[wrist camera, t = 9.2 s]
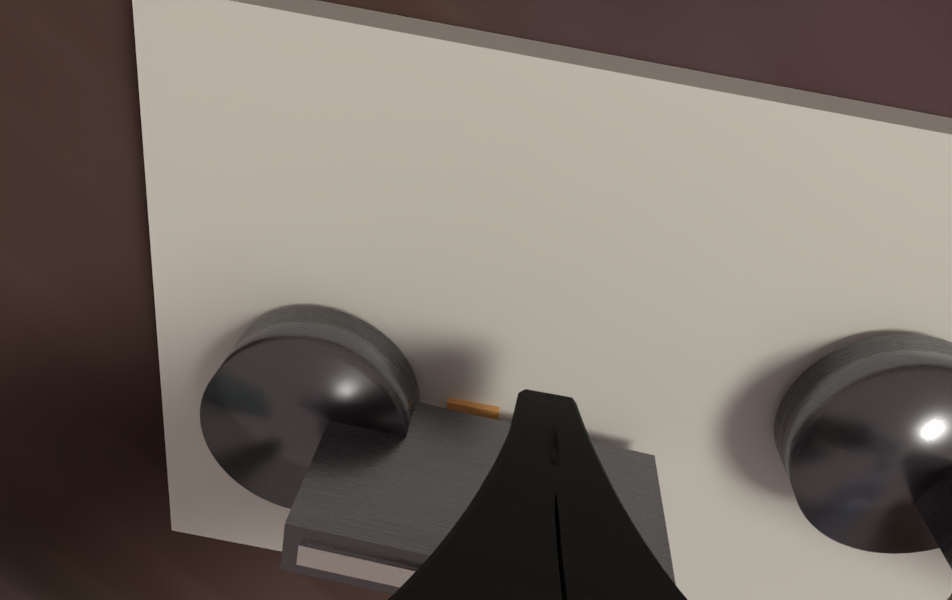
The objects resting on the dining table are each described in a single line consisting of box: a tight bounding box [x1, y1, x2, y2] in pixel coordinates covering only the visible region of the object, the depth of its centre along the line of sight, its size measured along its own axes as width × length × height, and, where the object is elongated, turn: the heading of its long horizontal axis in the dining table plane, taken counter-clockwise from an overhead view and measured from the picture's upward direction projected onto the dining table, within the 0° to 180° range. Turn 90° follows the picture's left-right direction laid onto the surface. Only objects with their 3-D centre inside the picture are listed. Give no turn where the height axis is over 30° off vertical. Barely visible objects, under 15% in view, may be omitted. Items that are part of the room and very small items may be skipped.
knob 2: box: [200, 307, 676, 594], centre depth 15 cm, size 10×4×4 cm, turn 78°
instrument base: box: [132, 0, 952, 600], centre depth 17 cm, size 14×20×2 cm
